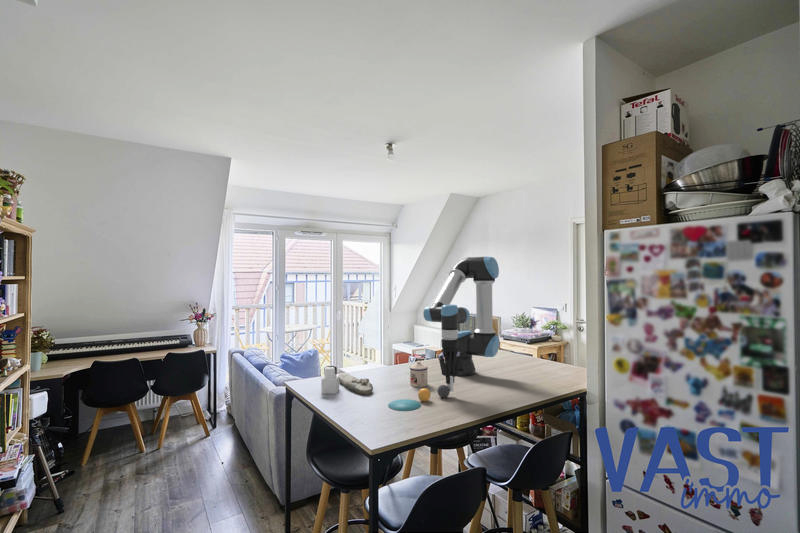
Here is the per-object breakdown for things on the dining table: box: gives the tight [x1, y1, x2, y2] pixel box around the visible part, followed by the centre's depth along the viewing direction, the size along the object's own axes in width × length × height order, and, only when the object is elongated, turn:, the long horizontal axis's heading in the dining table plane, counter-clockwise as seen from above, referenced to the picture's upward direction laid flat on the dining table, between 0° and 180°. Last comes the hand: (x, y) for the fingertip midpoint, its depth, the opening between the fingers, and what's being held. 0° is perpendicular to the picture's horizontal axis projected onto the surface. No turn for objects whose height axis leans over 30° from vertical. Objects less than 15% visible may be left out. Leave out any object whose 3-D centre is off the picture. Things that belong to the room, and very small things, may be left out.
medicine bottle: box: [321, 365, 340, 395], centre depth 186 cm, size 7×7×12 cm
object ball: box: [417, 387, 431, 402], centre depth 170 cm, size 6×6×6 cm
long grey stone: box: [338, 373, 374, 395], centre depth 194 cm, size 35×5×10 cm
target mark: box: [387, 398, 422, 412], centre depth 165 cm, size 14×14×1 cm
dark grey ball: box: [436, 384, 450, 399], centre depth 175 cm, size 6×6×6 cm
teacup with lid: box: [409, 360, 429, 388], centre depth 194 cm, size 12×9×12 cm
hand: (450, 390), depth 176 cm, fingers closed
